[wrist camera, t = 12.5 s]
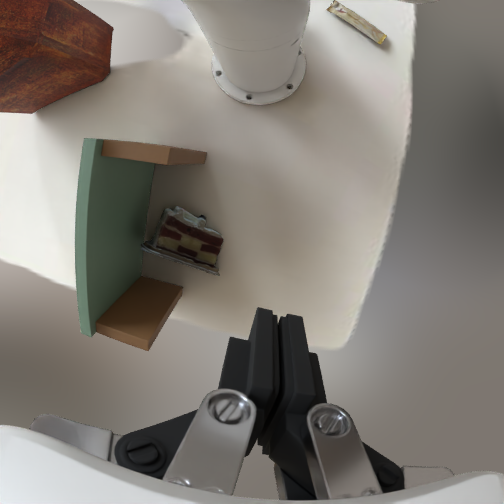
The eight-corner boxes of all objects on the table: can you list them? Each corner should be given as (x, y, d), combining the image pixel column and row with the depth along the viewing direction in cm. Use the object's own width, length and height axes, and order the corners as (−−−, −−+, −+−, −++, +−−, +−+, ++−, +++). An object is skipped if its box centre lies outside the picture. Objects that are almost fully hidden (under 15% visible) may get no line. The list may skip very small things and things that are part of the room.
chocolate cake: (243, 232, 39) (176, 202, 30) (224, 278, 39) (153, 260, 30) (204, 217, 45) (143, 190, 36) (187, 256, 45) (125, 237, 36)
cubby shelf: (149, 143, 35) (83, 137, 20) (206, 152, 35) (165, 146, 21) (132, 281, 42) (81, 333, 27) (181, 295, 42) (144, 357, 28)
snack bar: (388, 35, 27) (383, 42, 27) (383, 39, 28) (378, 47, 28) (334, -1, 26) (327, 5, 25) (331, 4, 27) (323, 11, 27)
